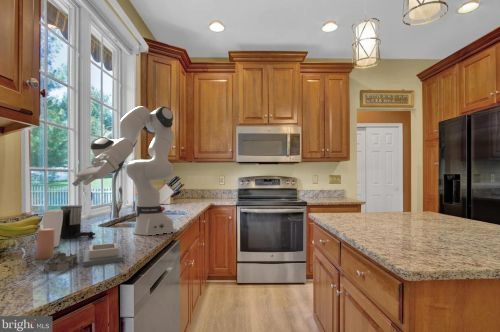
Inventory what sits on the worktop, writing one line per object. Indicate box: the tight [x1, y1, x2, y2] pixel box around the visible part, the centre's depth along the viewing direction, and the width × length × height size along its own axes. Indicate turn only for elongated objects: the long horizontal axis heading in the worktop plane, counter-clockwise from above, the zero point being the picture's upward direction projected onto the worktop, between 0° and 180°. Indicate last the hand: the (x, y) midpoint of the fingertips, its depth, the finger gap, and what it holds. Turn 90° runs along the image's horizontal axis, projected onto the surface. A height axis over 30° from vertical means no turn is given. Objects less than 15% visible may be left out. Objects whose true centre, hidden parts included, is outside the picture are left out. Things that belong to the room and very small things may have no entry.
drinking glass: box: [42, 209, 63, 248], centre depth 112 cm, size 7×7×15 cm
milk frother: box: [60, 204, 96, 239], centre depth 130 cm, size 14×16×15 cm
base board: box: [82, 242, 124, 267], centre depth 99 cm, size 12×16×4 cm
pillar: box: [35, 228, 55, 260], centre depth 98 cm, size 5×5×10 cm
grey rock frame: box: [41, 250, 79, 273], centre depth 89 cm, size 11×8×4 cm
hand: (79, 184), depth 111 cm, fingers open, 8 cm apart
